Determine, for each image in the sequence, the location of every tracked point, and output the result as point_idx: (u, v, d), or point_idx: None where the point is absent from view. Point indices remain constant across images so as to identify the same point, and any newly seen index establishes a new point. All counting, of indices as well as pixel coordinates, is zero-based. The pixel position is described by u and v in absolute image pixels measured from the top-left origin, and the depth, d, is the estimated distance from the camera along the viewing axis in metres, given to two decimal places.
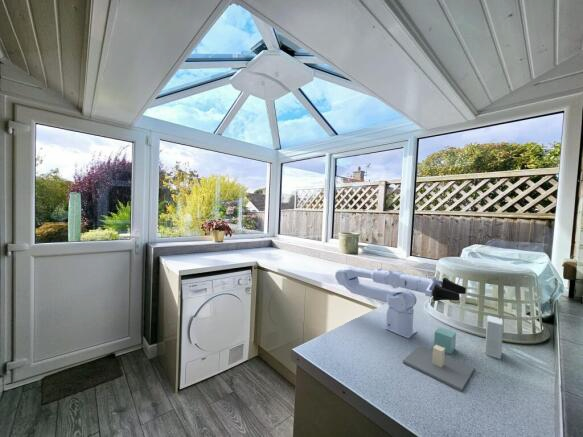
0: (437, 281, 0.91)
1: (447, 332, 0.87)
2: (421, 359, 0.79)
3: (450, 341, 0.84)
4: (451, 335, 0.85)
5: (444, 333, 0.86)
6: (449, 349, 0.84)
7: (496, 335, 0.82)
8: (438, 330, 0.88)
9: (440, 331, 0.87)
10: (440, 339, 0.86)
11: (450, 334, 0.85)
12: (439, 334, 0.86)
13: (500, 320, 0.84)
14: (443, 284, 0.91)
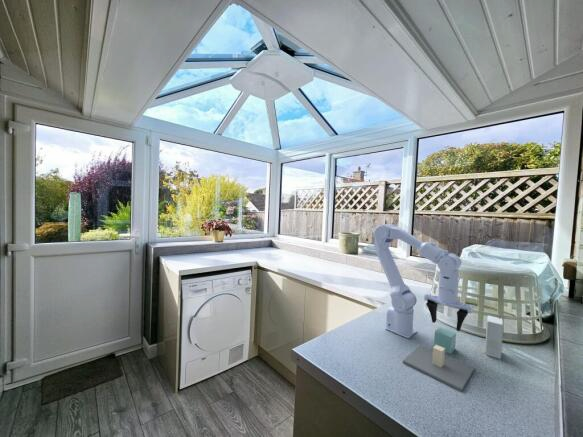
0: None
1: (447, 332, 0.87)
2: (421, 359, 0.79)
3: (450, 341, 0.84)
4: (451, 335, 0.85)
5: (444, 333, 0.86)
6: (449, 349, 0.84)
7: (496, 335, 0.82)
8: (438, 330, 0.88)
9: (440, 331, 0.87)
10: (440, 339, 0.86)
11: (450, 334, 0.85)
12: (439, 334, 0.86)
13: (500, 320, 0.84)
14: None
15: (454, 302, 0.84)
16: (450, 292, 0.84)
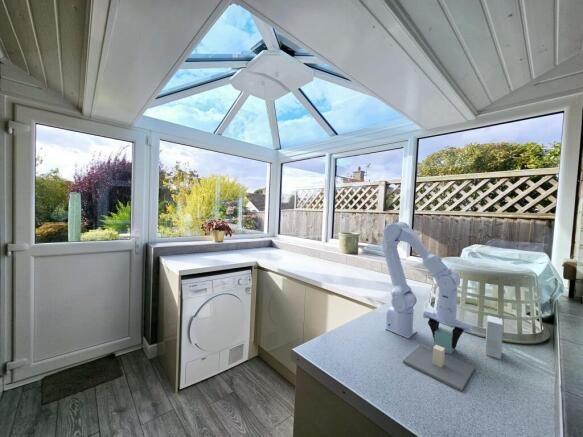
0: None
1: (447, 332, 0.87)
2: (421, 359, 0.79)
3: (450, 341, 0.84)
4: (451, 335, 0.85)
5: (444, 333, 0.86)
6: (449, 349, 0.84)
7: (496, 335, 0.82)
8: (438, 330, 0.88)
9: (440, 331, 0.87)
10: (440, 339, 0.86)
11: (450, 334, 0.85)
12: (439, 334, 0.86)
13: (500, 320, 0.84)
14: None
15: (453, 321, 0.84)
16: (449, 311, 0.84)
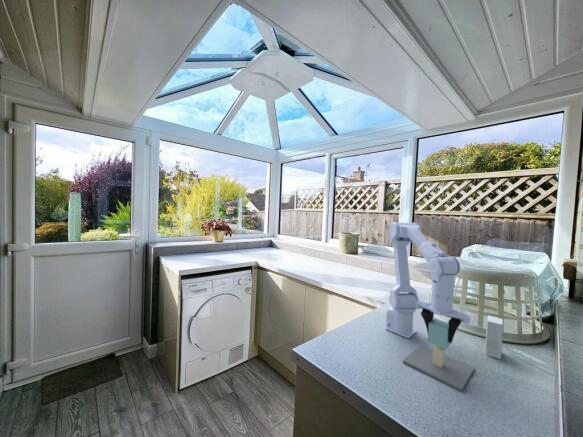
0: None
1: (443, 324, 0.76)
2: (421, 359, 0.79)
3: (446, 334, 0.73)
4: (447, 327, 0.74)
5: (439, 325, 0.76)
6: (445, 343, 0.74)
7: (496, 335, 0.82)
8: (433, 322, 0.78)
9: (435, 323, 0.77)
10: (435, 332, 0.76)
11: (446, 326, 0.75)
12: (434, 326, 0.76)
13: (500, 320, 0.84)
14: None
15: (449, 311, 0.74)
16: (444, 299, 0.73)
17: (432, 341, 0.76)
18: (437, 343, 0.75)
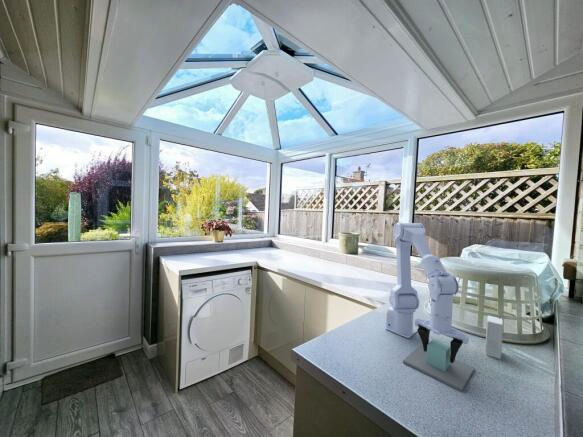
0: None
1: (441, 345, 0.77)
2: (421, 359, 0.79)
3: (444, 356, 0.74)
4: (446, 349, 0.75)
5: (437, 346, 0.76)
6: (443, 365, 0.74)
7: (496, 335, 0.82)
8: (431, 343, 0.78)
9: (433, 344, 0.77)
10: (434, 354, 0.76)
11: (444, 348, 0.75)
12: (432, 348, 0.76)
13: (500, 320, 0.84)
14: (452, 340, 0.74)
15: (448, 330, 0.74)
16: (443, 319, 0.74)
17: (431, 363, 0.77)
18: (435, 365, 0.76)
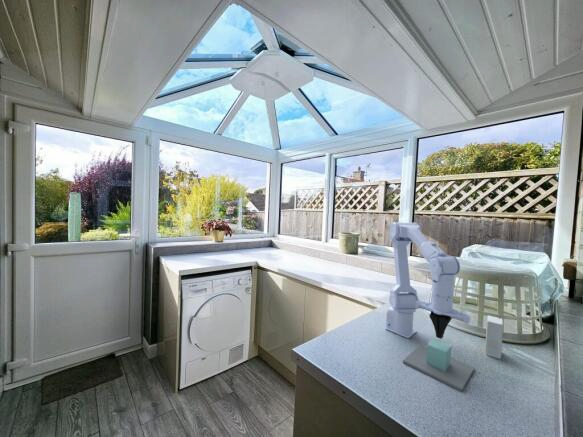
0: None
1: (441, 345, 0.77)
2: (421, 359, 0.79)
3: (444, 356, 0.74)
4: (446, 349, 0.75)
5: (437, 346, 0.76)
6: (443, 365, 0.74)
7: (496, 335, 0.82)
8: (431, 343, 0.78)
9: (433, 344, 0.77)
10: (434, 354, 0.76)
11: (444, 348, 0.75)
12: (432, 348, 0.76)
13: (500, 320, 0.84)
14: None
15: (449, 311, 0.74)
16: (444, 299, 0.73)
17: (431, 363, 0.77)
18: (435, 365, 0.76)
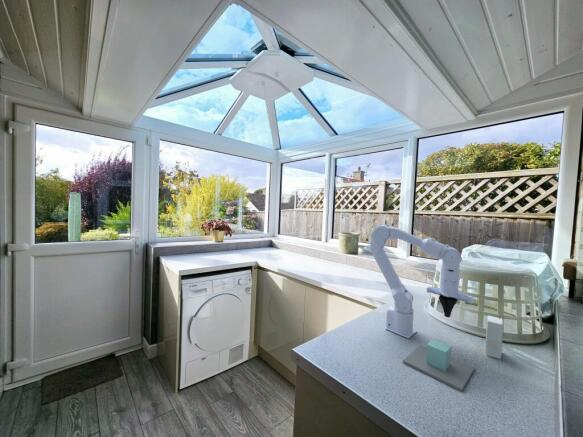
0: None
1: (441, 345, 0.77)
2: (421, 359, 0.79)
3: (444, 356, 0.74)
4: (446, 349, 0.75)
5: (437, 346, 0.76)
6: (443, 365, 0.74)
7: (496, 335, 0.82)
8: (431, 343, 0.78)
9: (433, 344, 0.77)
10: (434, 354, 0.76)
11: (444, 348, 0.75)
12: (432, 348, 0.76)
13: (500, 320, 0.84)
14: None
15: (455, 293, 0.88)
16: (451, 284, 0.88)
17: (431, 363, 0.77)
18: (435, 365, 0.76)
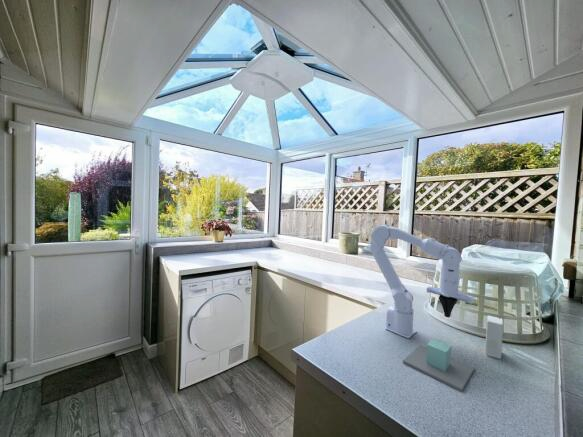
0: None
1: (441, 345, 0.77)
2: (421, 359, 0.79)
3: (444, 356, 0.74)
4: (446, 349, 0.75)
5: (437, 346, 0.76)
6: (443, 365, 0.74)
7: (496, 335, 0.82)
8: (431, 343, 0.78)
9: (433, 344, 0.77)
10: (434, 354, 0.76)
11: (444, 348, 0.75)
12: (432, 348, 0.76)
13: (500, 320, 0.84)
14: None
15: (455, 293, 0.88)
16: (451, 284, 0.88)
17: (431, 363, 0.77)
18: (435, 365, 0.76)
